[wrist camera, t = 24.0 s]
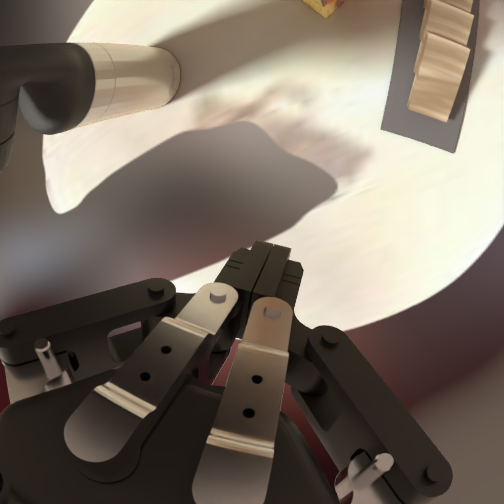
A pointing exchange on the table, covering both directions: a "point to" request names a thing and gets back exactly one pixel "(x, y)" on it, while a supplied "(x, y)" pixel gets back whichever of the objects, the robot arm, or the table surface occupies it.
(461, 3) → the domino
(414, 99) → the domino
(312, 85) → the table surface
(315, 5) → the candy box
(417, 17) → the mat
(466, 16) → the domino
